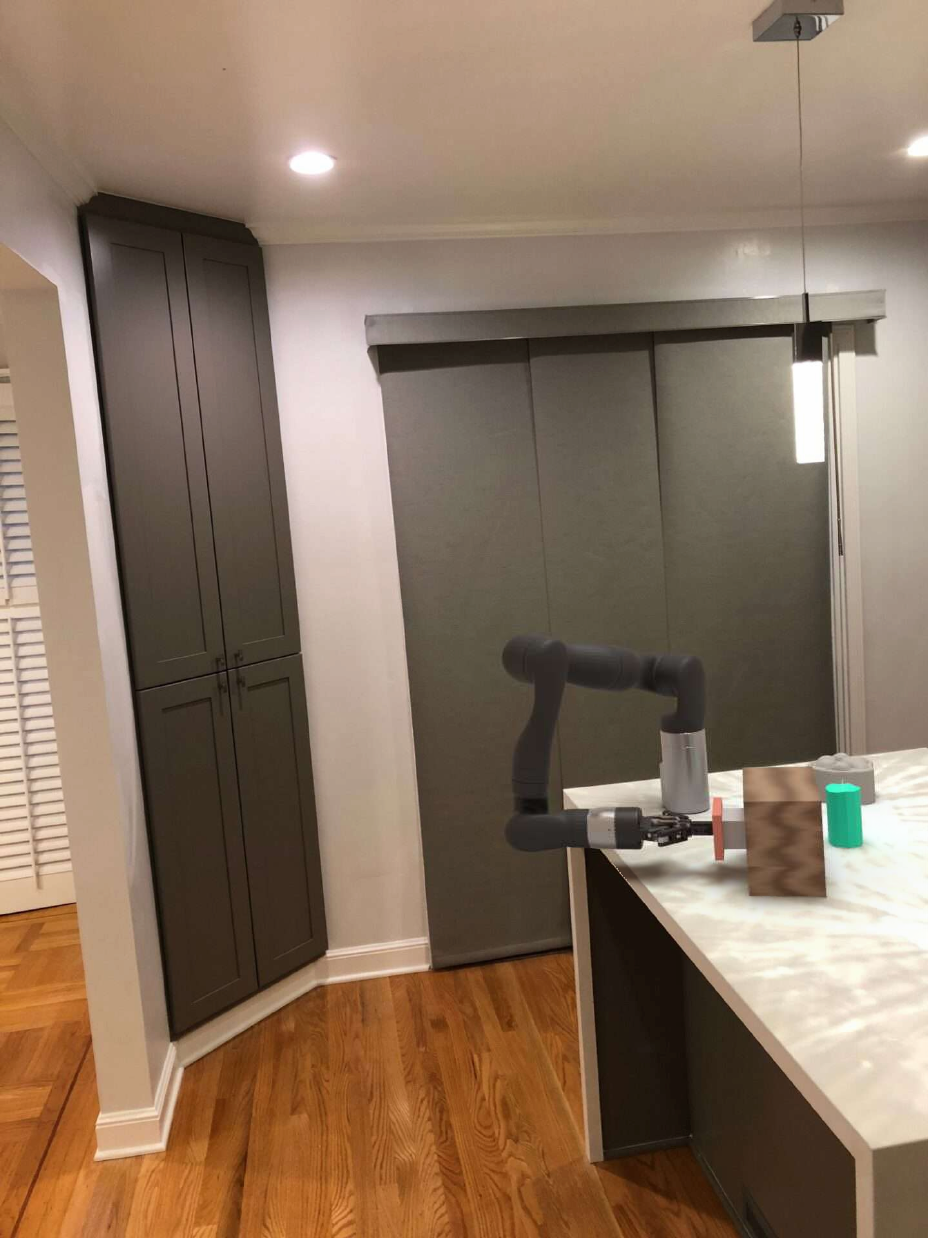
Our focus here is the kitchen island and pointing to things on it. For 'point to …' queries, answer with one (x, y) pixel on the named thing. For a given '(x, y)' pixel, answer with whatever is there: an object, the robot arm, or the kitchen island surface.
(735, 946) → the kitchen island surface
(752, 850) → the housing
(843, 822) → the candle
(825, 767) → the lumpy-topped squat cylinder
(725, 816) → the coral square plate
